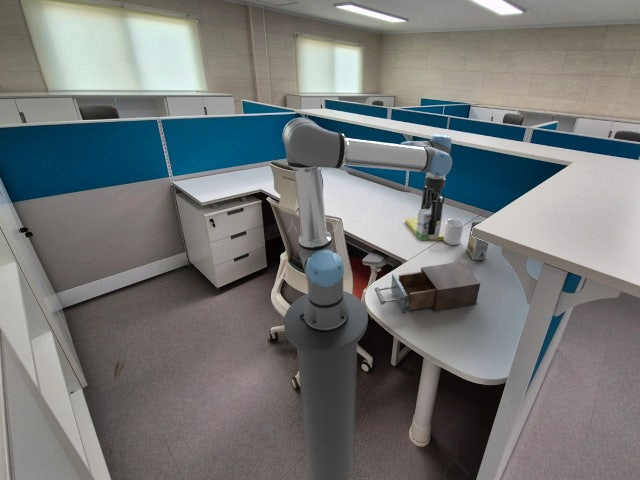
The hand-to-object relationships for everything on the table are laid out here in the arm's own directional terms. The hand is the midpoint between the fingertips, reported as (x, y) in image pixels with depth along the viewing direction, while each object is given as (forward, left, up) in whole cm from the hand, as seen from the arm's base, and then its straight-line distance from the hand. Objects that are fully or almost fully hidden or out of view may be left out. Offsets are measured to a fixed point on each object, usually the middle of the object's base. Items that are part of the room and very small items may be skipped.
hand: (427, 230), depth 124 cm
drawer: (-13, -15, -20) cm, 29 cm away
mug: (+28, +25, -21) cm, 43 cm away
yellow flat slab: (+18, +38, -21) cm, 47 cm away
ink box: (0, 0, -3) cm, 3 cm away
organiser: (+4, -15, -21) cm, 27 cm away
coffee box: (+33, +9, -21) cm, 40 cm away
